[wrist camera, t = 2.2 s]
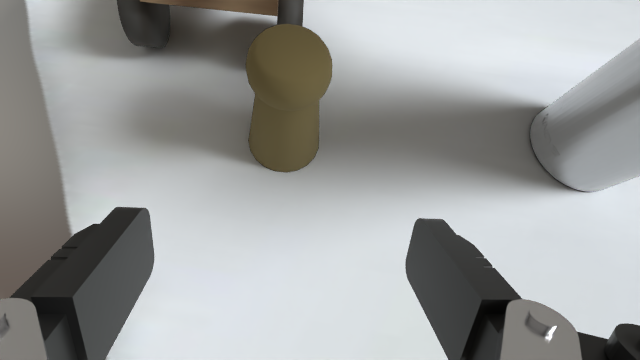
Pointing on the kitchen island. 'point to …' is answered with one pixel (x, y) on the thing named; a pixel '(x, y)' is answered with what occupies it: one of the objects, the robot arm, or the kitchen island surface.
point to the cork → (287, 95)
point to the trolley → (154, 14)
